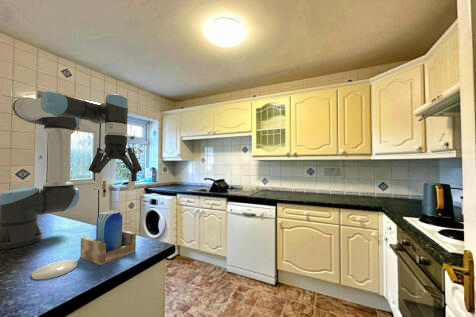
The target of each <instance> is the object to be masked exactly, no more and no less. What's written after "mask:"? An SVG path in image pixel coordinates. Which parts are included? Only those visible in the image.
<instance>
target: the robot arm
mask: <svg viewBox="0 0 476 317" xmlns="http://www.w3.org/2000/svg"><path fill="white" fill-rule="evenodd" d="M104 101H105V102H104V103H98V102H94V101H90V100H86V99H82V98H78V97H74V96H71V95H66V94H62V93H61V92H55V91H49V90H48V91H44V93H43V94H42V95H41V97H37V98H34V97H21V98H18V99H16V100H14V101H13V103H12V105H11V109H12V111H13V113H14V114H15V116H16V117H18V118H19V119H20V120H22V121H25V122H27V123H29V124H34V125H40V126H43V130H44V131H45V132H46V133H47V135H48V136H47V176H46V177H47V182H46V183H44V184H43V185H42V189H39V187H37V186H32V187H31V186H29V187H21V188H16V189H11V190H6V191H3V192H1V193H0V250H10V249H14V248H20V247H25V246H29V245H31V244H34V243H38V242H39V241H41V240H42V238H43V232H42V231H41V228H40V226H39V223H38V216H42V215H48V214H54V213H61V212H62V213H63V212H66V211H67V212H68V211H71V210H73V209H74V208H76V206H77V205H78V203H79V201H80V191H79V190H80V189H79V188H77V187H76V186H75V184H74V183H73V182H72V181H71V159H72V158H71V155H72V154H71V152H72V148H71V146H72V145H71V142H72V135H73V134H74V133H75V132H76V130H78V129H79V127H80V124H81V120H84V121H90V123H92V124H95V125H102V124H104V134H105V135H104V146H105V148H104V147H99V146H98V147H97V148H96V153H95V156H94V157H93V159H92V161H91V164H90V165H89V168H88V171H89V172H92V173H93V181H94V191H98V190H99V191H100V190H103V172H102V171H103V169H104V168H105V167H106V165H107V164H108V163H109V162H110V161H111V160H121V162H122V163H123V164H124V165H125V166H126V168H127V169H128V171H129V173H128V183H127V184H128V185H127V188H128V192H129V191H135V187H136V186H135V185H136V183H135V182H137V179H138V178H137V176H138V174H137V173H139V172H142V171H143V169H142V167H141V164H140V161H139V160H138V158H137V155H136V152H135V147H130V146H128V147H127V145H128V137H127V136H128V118H129V117H128V115H129V105H128V103H129V102H128V99H127V98H126V97H125V96H123V95H120V94H117V93H116V94H115V93H110V94H107V95H106V96H105V99H104ZM127 154H128V156H129V157H128V156H127Z"/></svg>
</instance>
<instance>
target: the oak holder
mask: <svg viewBox="0 0 476 317" xmlns="http://www.w3.org/2000/svg"><path fill="white" fill-rule="evenodd" d="M136 240H137V232H133V231H129V230H125V229H122V247H120V248H117V249H114V250H112V251H109V252H106V243H105V242H102V241H98V240H96V238H95V239H94V238H91V237H88V236H83V237H81V238H80V258H82V259H84V260H87V261H89V262H91V263H94V264H97V265H99V266H102V265H105V264H107V263H109V262H112V261H114V260H116V259H119V258H122V257H123V256H126V255H130V254H131V253H134V252H136V248H137V246H136V245H137V241H136Z"/></svg>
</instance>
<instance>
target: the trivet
mask: <svg viewBox="0 0 476 317" xmlns="http://www.w3.org/2000/svg"><path fill="white" fill-rule="evenodd" d="M78 264H79V263H78V261H77V260H74V259H73V260H71V259H66V260H65V259H64V260H58V261H54V262H52V263H48V264H45V265H42V266H40V267H38V268H37V269H34V270H33V272H31V279H33V280H39V281H40V280H48V279H53V278H56V277H61V276H63V275H66V274H68V273H70V272H72V271H74V270H75V269H76V268H77V267H78Z"/></svg>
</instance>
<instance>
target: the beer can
mask: <svg viewBox="0 0 476 317" xmlns="http://www.w3.org/2000/svg"><path fill="white" fill-rule="evenodd" d="M123 217H124V216H123V215H122V213H121V211H120V209H119V210H118V209H110V210H103V211H101V212H99V216H98V217H97V218H96V227H95V228H96V229H95V230H96V232H95V233H96V234H95V235H96V236H95V240H98V241H102V242H105V243H106V252H109V251H112V250H114V249H117V248H120V247H122V230H123Z"/></svg>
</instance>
